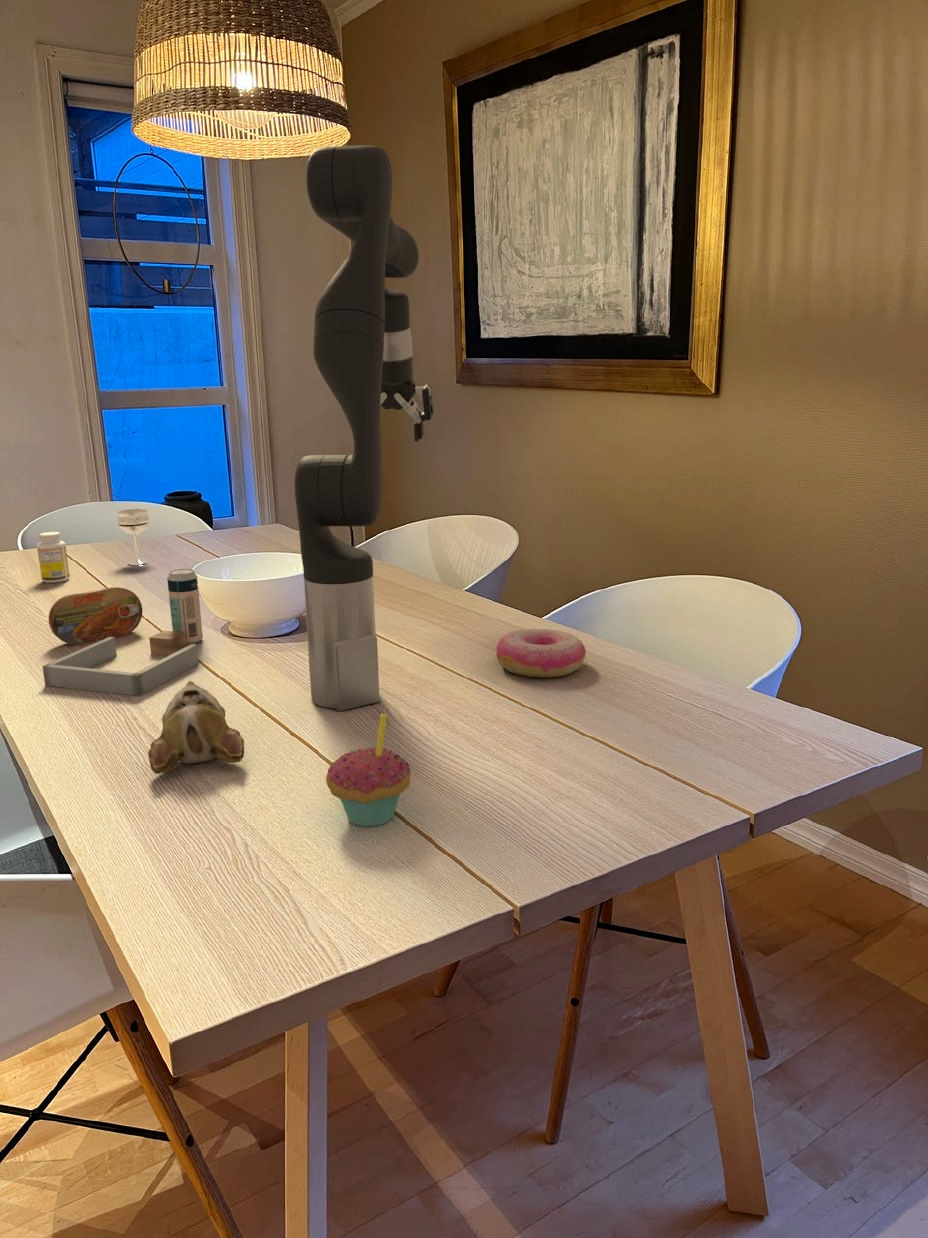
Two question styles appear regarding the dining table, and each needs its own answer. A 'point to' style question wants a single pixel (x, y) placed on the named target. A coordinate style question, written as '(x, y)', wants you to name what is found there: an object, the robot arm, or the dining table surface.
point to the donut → (540, 652)
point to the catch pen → (80, 675)
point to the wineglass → (134, 525)
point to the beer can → (185, 604)
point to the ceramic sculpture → (194, 732)
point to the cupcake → (369, 781)
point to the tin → (95, 615)
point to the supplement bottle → (53, 558)
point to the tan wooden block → (167, 642)
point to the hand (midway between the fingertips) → (395, 439)
